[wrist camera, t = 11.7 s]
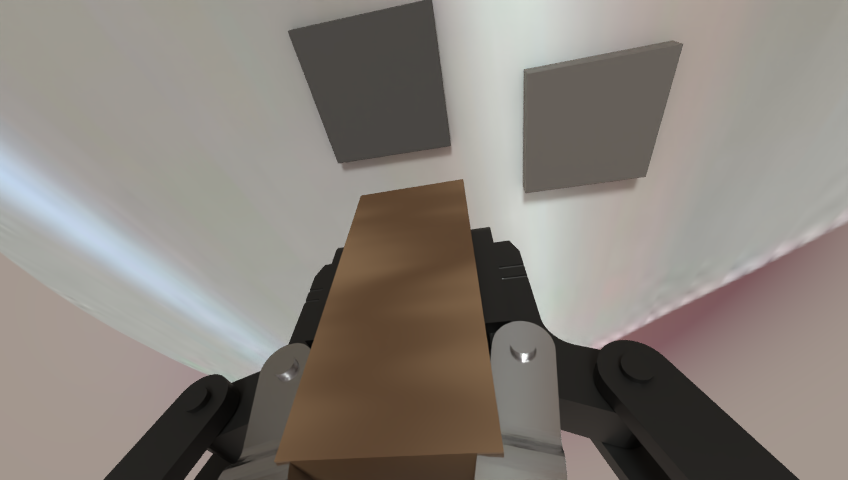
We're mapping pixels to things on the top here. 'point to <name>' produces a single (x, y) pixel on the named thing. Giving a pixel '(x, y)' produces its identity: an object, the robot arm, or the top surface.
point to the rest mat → (376, 81)
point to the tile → (595, 116)
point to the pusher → (399, 350)
